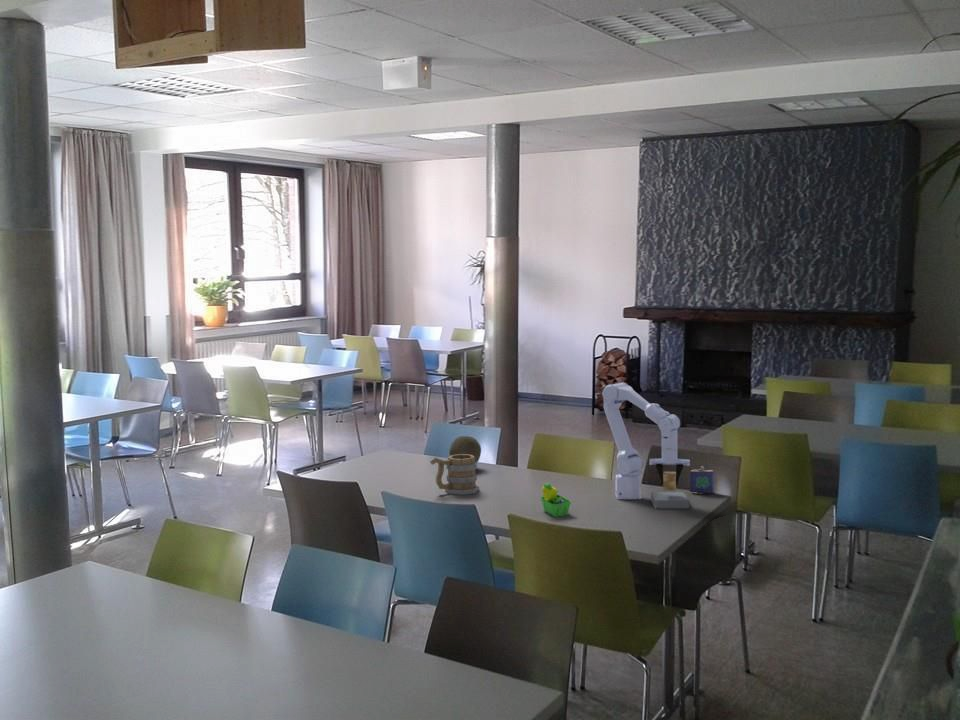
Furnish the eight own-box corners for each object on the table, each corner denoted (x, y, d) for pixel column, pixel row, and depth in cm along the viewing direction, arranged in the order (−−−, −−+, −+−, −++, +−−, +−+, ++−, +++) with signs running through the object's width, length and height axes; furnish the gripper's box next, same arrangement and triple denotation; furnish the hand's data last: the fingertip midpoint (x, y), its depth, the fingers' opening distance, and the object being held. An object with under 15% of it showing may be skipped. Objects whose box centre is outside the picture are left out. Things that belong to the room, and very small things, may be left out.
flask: (713, 492, 342) (713, 465, 341) (714, 494, 339) (714, 466, 338) (689, 492, 343) (689, 465, 342) (690, 494, 340) (690, 467, 339)
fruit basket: (572, 515, 313) (571, 484, 312) (549, 518, 310) (549, 487, 309) (558, 508, 324) (558, 478, 323) (536, 510, 321) (536, 480, 320)
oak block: (663, 490, 324) (663, 474, 324) (663, 487, 328) (663, 471, 328) (675, 490, 323) (675, 474, 323) (675, 487, 327) (675, 471, 327)
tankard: (469, 485, 362) (469, 449, 361) (483, 492, 351) (482, 455, 349) (424, 491, 354) (423, 455, 352) (436, 498, 342) (435, 460, 341)
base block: (655, 508, 320) (655, 500, 320) (651, 500, 332) (650, 492, 332) (689, 508, 320) (689, 500, 319) (683, 499, 332) (683, 492, 331)
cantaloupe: (481, 472, 386) (481, 438, 385) (449, 473, 386) (448, 439, 384) (481, 465, 400) (480, 433, 399) (450, 466, 400) (449, 434, 398)
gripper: (689, 446, 326) (689, 482, 328) (649, 445, 330) (650, 481, 331) (689, 449, 319) (689, 486, 321) (649, 449, 323) (649, 485, 324)
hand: (669, 484), depth 325 cm, fingers closed on oak block, 4 cm apart
